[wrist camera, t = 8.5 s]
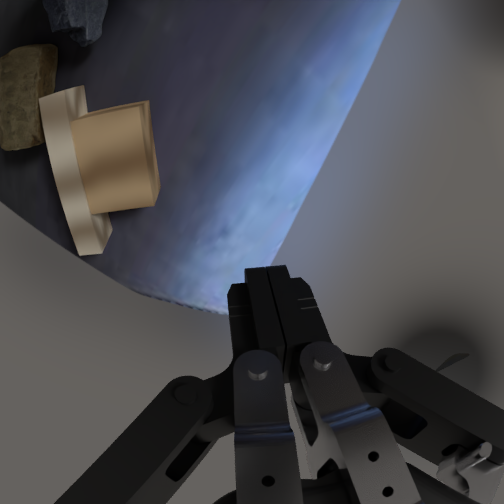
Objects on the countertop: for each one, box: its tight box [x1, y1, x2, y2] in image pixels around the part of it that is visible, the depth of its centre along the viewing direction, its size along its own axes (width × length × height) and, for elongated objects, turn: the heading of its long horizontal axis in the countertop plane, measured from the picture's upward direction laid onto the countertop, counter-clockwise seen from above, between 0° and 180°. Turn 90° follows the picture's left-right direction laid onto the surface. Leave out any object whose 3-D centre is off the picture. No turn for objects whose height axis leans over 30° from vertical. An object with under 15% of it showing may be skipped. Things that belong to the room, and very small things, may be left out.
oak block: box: [70, 100, 161, 214], centre depth 27 cm, size 10×7×5 cm
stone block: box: [0, 44, 58, 151], centre depth 21 cm, size 6×12×5 cm, turn 171°
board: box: [39, 85, 113, 256], centre depth 27 cm, size 18×3×5 cm, turn 1°
